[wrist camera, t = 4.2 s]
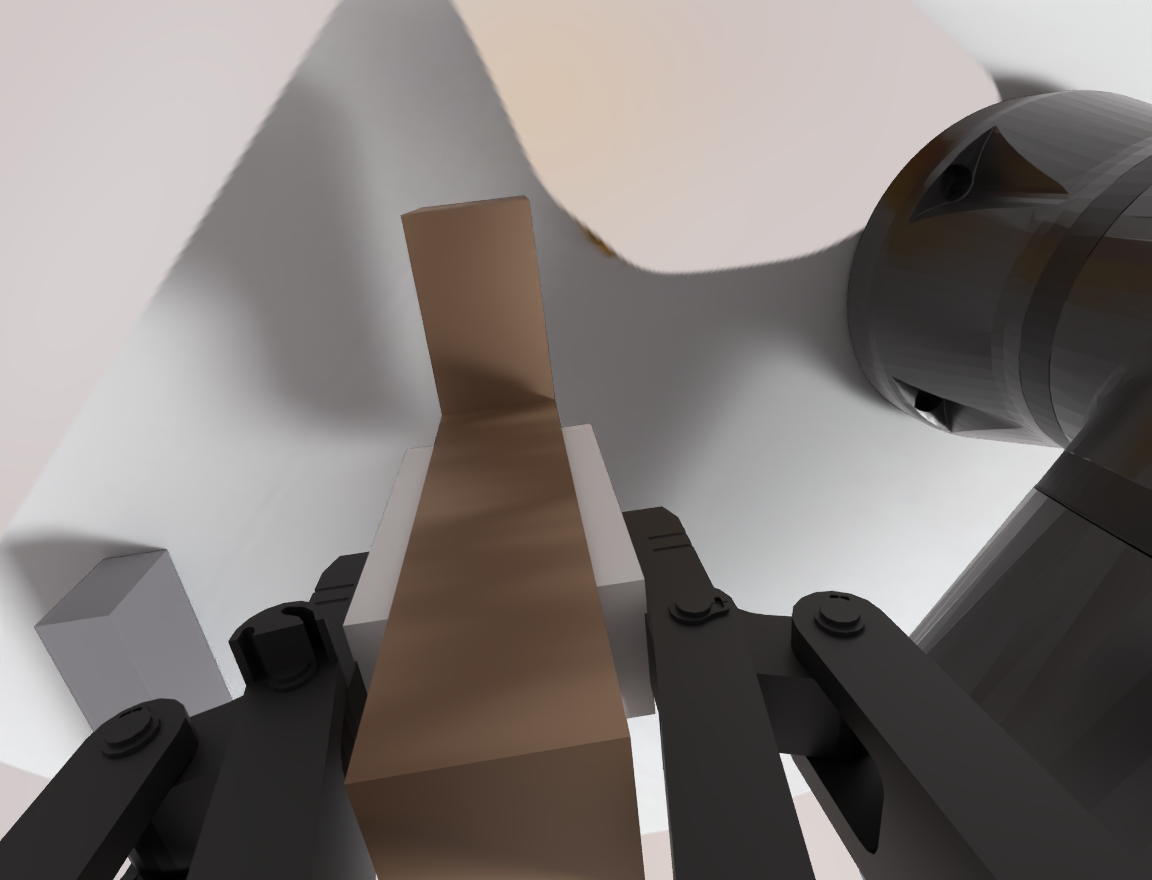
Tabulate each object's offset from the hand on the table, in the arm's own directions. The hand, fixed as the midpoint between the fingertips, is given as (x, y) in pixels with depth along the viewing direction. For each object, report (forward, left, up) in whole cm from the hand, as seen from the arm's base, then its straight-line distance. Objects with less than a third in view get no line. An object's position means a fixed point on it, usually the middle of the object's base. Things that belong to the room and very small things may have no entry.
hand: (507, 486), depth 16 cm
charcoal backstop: (+19, +15, -14) cm, 28 cm away
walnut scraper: (0, 0, -6) cm, 6 cm away
